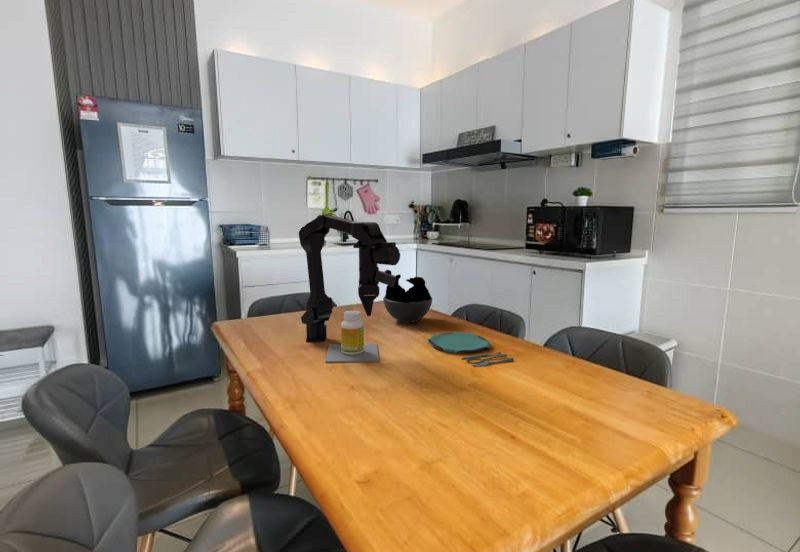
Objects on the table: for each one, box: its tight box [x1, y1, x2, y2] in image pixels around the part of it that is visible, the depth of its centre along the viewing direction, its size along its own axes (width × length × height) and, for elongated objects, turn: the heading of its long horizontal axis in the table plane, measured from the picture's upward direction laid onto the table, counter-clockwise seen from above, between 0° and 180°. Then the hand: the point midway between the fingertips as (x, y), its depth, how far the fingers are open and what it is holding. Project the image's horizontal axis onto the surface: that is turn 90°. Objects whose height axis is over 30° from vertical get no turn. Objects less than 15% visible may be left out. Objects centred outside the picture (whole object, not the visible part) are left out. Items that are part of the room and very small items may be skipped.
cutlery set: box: [427, 331, 515, 368], centre depth 139 cm, size 20×30×2 cm, turn 22°
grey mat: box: [324, 343, 380, 364], centre depth 135 cm, size 16×16×1 cm
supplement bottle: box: [340, 310, 365, 355], centre depth 134 cm, size 7×7×13 cm
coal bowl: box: [382, 274, 433, 323], centre depth 173 cm, size 20×20×19 cm
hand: (368, 312), depth 133 cm, fingers open, 9 cm apart
